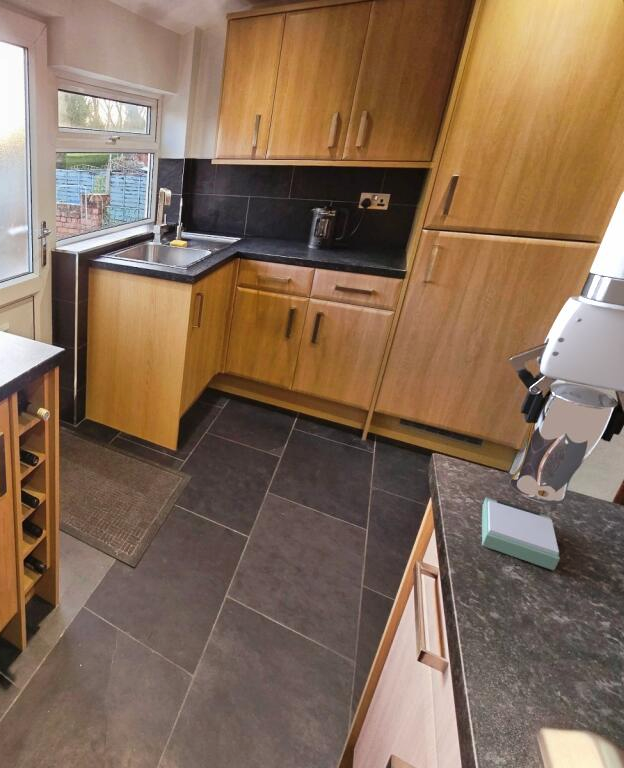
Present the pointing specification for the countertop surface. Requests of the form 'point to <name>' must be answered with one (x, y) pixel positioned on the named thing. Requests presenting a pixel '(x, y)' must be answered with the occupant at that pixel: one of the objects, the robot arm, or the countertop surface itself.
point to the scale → (519, 533)
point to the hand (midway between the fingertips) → (564, 427)
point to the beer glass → (562, 440)
